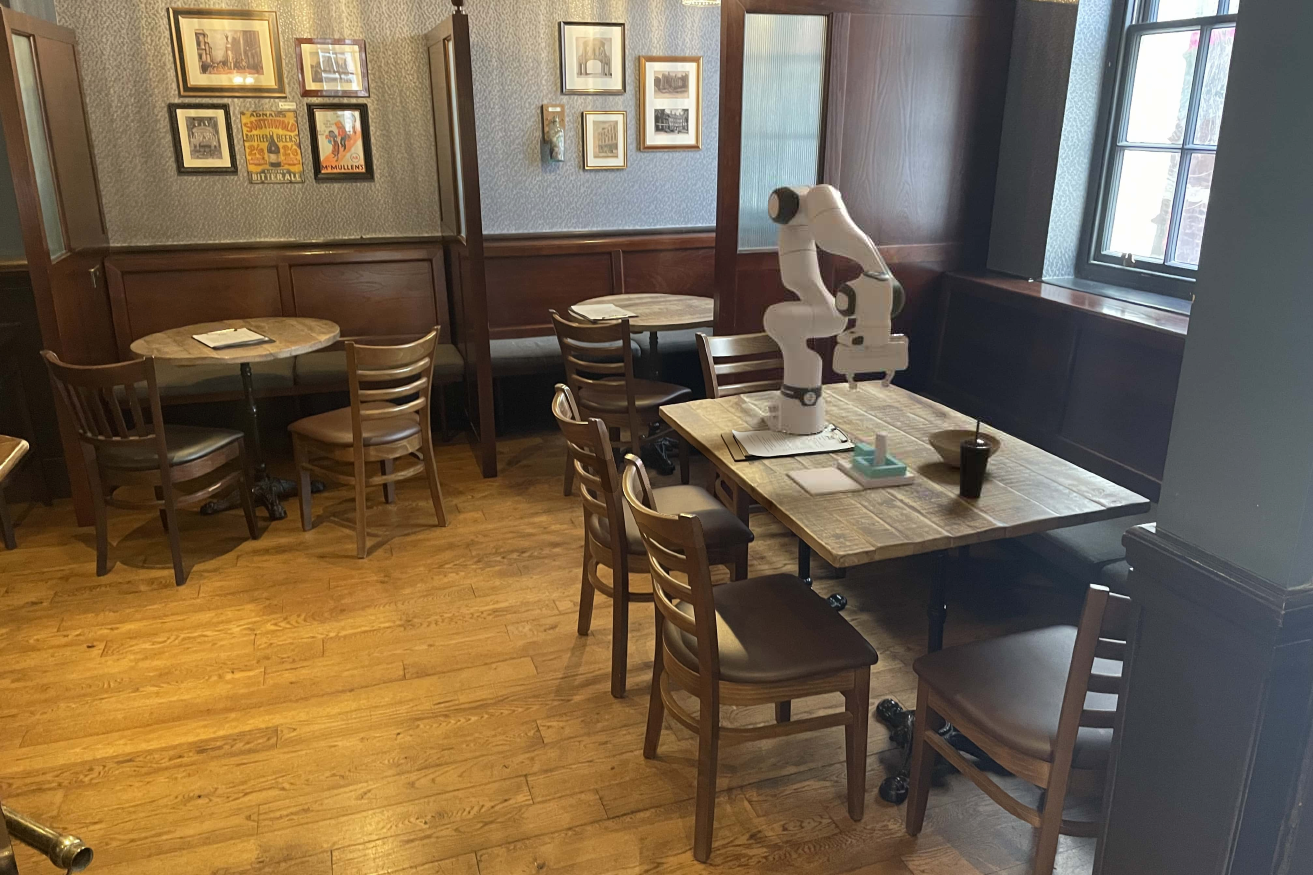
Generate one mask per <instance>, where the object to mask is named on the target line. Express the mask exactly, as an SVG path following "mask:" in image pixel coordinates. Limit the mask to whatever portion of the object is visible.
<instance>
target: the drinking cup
mask: <svg viewBox="0 0 1313 875" xmlns="http://www.w3.org/2000/svg"><path fill="white" fill-rule="evenodd" d="M980 424H981V417H977V419H976V427H975V431H976V435H975V437H970V438H966V439H962V440H960V442H959V444H960V468H959V495H960V496H961V497H962V498H964V499H965V498H966V499H972V500H973V499H975V500H976V499H979V498H981V494H982V493H981V492H982V488H983V484H984V481H985V477H986V475H985V474H986V471H987V467H988V463H989V459H990V458H989V454H990V450H991V448H992V446H993V445H992V443H991V442H989V441H987V440H985V439H982V438H978V435H979V432H980Z"/></svg>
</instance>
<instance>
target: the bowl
mask: <svg viewBox="0 0 1313 875" xmlns="http://www.w3.org/2000/svg"><path fill="white" fill-rule="evenodd" d="M975 435H976V430H969V429H962V428H961V429H944V430H940V431H935V432H932V433H931V434H930V435H929V436H928V439H927V440H928V443H929V444H930V446H931V448H932V449H933V450H935V452H936V453H937V454H938V455H939V456H940V457H941V459H942V460H943V461H944V462H945V463H946V464H947V465H950V466H952V467H955V468H957V469H958V468H959V469H960V444H959V442H960V440H962V439H966V438H970V437H975ZM978 438H982V439H985V440H987V441H989V442H991V443H992V445H993V446H992V448H991V450H990V454H989V459H990V458H991V457H992V456H994V455H996V453H997V452H998V451H999V449H1000V448H1001V446H1002V442H1001V441H1000V439H997V437H996V436H994V435H990V434H989V433H986V432H982V431H979V435H978Z"/></svg>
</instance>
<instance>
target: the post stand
mask: <svg viewBox="0 0 1313 875" xmlns="http://www.w3.org/2000/svg"><path fill="white" fill-rule="evenodd" d="M888 438H889V434H888V433H887V432H883V431H881V432H880V431H878V432H876V433H875V439H874V441H875V443H874V449H875V452H874V464H873V467H881V466H885V463H886V454H887V453H888V452H887V451H888V450H887V449H888V440H889V439H888ZM836 468H837V469H838V470H840V471H841V472H842V473H844V474H845V475H847V476H848V477H849V478H851V479H852V480H853V481H855V482H856V483H858V484H859V485H860V486H862V487H863V489H871V488H882V487H890V486H891V487H892V486H893V487H894V486H899V485H900V486H901V485H910V484H911V485H912V484H915V479H916V476H915V475H914V474H913V473H911V472H909V471H908V470H906V475H905V476H895V477H885V478H875V479H870V478H869V477H867V476H866V475H865V474H863V473H862V472H860V471H859V470H857V469H856V468H855V467H853V458H850V459H840V460H836Z"/></svg>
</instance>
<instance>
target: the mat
mask: <svg viewBox="0 0 1313 875" xmlns="http://www.w3.org/2000/svg"><path fill="white" fill-rule="evenodd" d="M786 475H787V476H788V477H790V478H791V480H793V481H794V482H795V483H796V484H797V485H799V486H800V487H801V488H803V489H804V490H805V491H806V492H808V493H809V495H811V496H821V495H830V494H838V493H839V494H840V493H849V492H857V491H858V492H859V491H864V487H862V486H861V485H860V484H858V483H857V482H856V481H854V480H853V479H852V478H850V477H849V476H847V475H846V474H845V473H843V472H842V471H841V470H839V469H838V468H837V466H836V467H835V466H834V467H832V466H829V467H821V468H813V469H811V468H810V469H801V470H791V471H786Z"/></svg>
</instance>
